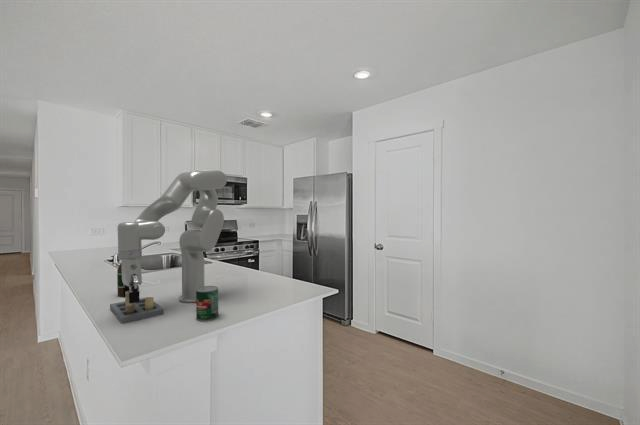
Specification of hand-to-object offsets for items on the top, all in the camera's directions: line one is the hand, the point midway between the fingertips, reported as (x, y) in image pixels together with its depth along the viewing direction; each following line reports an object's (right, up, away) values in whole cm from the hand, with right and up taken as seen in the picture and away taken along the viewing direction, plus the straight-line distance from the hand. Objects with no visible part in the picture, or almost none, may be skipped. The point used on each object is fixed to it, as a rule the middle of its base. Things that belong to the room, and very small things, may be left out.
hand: (131, 299), depth 113 cm
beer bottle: (-21, -7, +29) cm, 36 cm away
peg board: (-2, -7, +6) cm, 9 cm away
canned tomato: (+29, -7, 0) cm, 30 cm away
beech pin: (0, -7, 0) cm, 7 cm away
